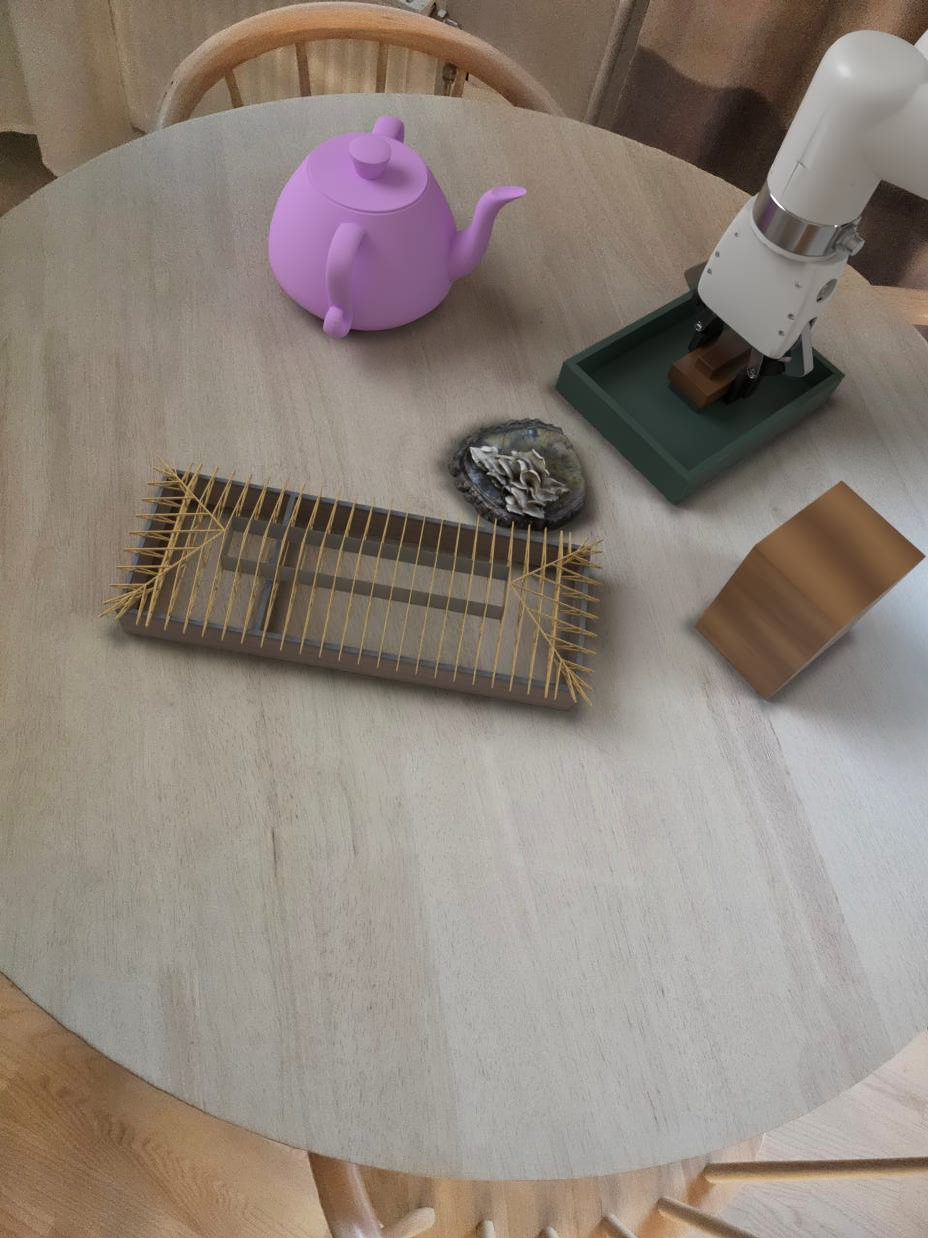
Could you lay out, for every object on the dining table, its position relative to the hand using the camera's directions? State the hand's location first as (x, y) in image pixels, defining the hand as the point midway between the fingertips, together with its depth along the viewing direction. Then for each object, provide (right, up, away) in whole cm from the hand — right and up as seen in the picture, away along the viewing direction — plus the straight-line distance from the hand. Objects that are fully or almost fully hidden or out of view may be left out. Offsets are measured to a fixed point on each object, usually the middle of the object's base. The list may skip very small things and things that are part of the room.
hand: (716, 376), depth 88 cm
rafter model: (-31, -21, -15) cm, 41 cm away
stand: (+1, -23, -12) cm, 26 cm away
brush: (0, 0, 0) cm, 0 cm away
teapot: (-31, +9, +1) cm, 32 cm away
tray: (-2, -2, 0) cm, 3 cm away
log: (-19, -11, -8) cm, 23 cm away
